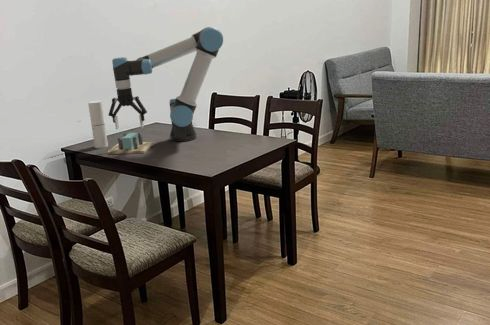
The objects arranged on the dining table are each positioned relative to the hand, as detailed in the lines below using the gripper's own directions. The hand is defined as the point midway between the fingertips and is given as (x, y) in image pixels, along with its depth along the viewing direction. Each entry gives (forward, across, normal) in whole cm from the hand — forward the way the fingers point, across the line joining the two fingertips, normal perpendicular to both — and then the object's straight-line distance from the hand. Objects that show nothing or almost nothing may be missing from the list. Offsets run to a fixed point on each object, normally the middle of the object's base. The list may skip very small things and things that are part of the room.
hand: (129, 128), depth 260 cm
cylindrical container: (+11, +20, -6) cm, 24 cm away
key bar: (+10, +1, 0) cm, 10 cm away
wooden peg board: (+11, +1, 0) cm, 11 cm away
